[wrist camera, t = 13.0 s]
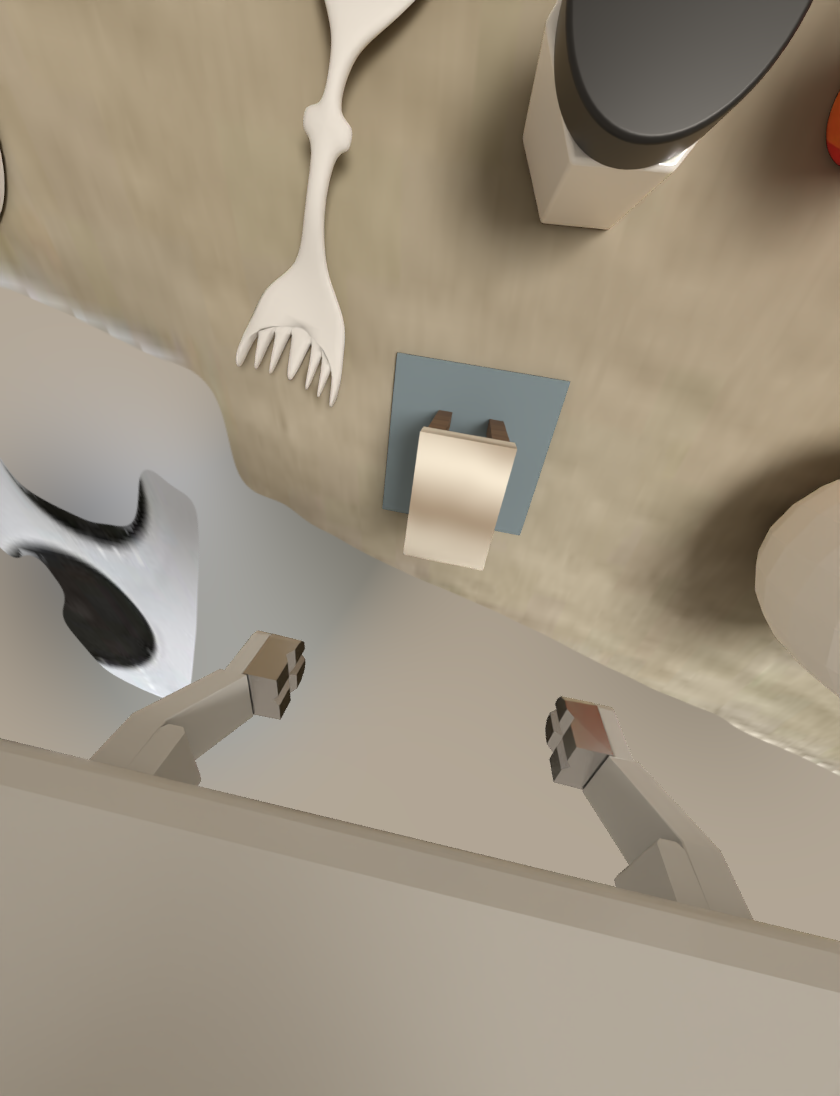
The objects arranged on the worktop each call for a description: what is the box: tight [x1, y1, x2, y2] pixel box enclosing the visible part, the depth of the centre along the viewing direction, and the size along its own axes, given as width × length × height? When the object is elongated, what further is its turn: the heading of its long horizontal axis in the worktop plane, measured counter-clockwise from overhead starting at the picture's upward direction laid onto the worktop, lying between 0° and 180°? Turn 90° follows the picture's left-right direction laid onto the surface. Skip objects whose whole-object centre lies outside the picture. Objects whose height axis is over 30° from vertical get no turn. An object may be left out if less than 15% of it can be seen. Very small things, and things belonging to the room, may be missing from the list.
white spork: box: [236, 0, 415, 407], centre depth 22 cm, size 9×32×4 cm, turn 158°
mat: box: [383, 353, 570, 535], centre depth 32 cm, size 14×14×1 cm
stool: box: [403, 410, 517, 570], centre depth 28 cm, size 9×6×10 cm, turn 171°
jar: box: [523, 0, 813, 230], centre depth 17 cm, size 9×8×12 cm
